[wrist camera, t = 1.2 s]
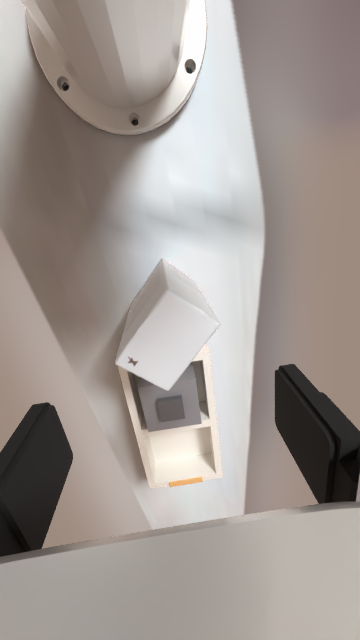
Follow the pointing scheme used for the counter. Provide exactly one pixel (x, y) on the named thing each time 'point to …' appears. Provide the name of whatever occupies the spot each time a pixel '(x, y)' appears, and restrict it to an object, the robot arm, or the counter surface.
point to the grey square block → (171, 403)
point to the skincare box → (165, 327)
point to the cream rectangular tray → (178, 434)
